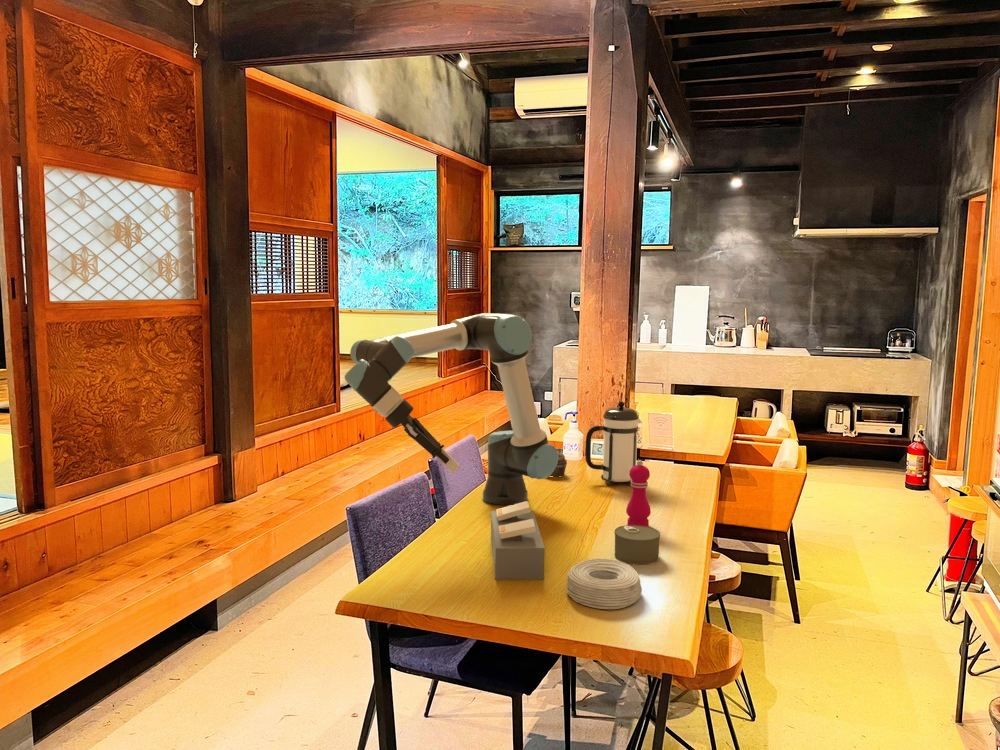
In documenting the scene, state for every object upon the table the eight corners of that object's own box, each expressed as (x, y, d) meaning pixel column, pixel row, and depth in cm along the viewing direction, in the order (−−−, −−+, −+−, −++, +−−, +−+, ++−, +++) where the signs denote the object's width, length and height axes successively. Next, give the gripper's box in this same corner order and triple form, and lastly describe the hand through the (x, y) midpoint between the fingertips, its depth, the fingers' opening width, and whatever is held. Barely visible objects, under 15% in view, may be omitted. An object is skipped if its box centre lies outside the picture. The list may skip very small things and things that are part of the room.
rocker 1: (497, 514, 207) (496, 508, 207) (528, 505, 207) (527, 500, 207) (498, 520, 201) (496, 515, 201) (530, 512, 201) (529, 506, 201)
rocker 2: (499, 531, 192) (498, 525, 192) (533, 523, 192) (532, 518, 192) (501, 539, 186) (499, 533, 186) (536, 531, 186) (535, 525, 186)
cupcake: (539, 472, 287) (539, 446, 285) (564, 471, 288) (564, 446, 286) (543, 478, 277) (543, 452, 276) (568, 478, 278) (569, 451, 277)
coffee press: (612, 474, 284) (614, 396, 280) (647, 482, 273) (650, 401, 269) (583, 482, 272) (585, 401, 268) (619, 491, 261) (621, 406, 257)
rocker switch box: (490, 531, 218) (490, 500, 217) (531, 530, 219) (531, 500, 218) (495, 579, 183) (495, 543, 181) (544, 579, 183) (544, 543, 182)
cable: (608, 575, 186) (609, 552, 186) (657, 601, 172) (658, 576, 171) (551, 590, 177) (552, 566, 177) (598, 618, 163) (599, 592, 162)
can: (629, 568, 191) (630, 542, 190) (605, 552, 202) (605, 528, 201) (668, 561, 196) (669, 536, 195) (642, 546, 207) (643, 522, 206)
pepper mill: (650, 529, 220) (652, 463, 218) (625, 528, 222) (627, 462, 219) (650, 522, 227) (652, 458, 225) (626, 520, 229) (628, 456, 226)
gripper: (386, 413, 205) (446, 472, 208) (381, 422, 192) (446, 485, 195) (405, 394, 205) (466, 453, 208) (401, 402, 192) (466, 465, 195)
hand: (456, 469), depth 202 cm, fingers closed
